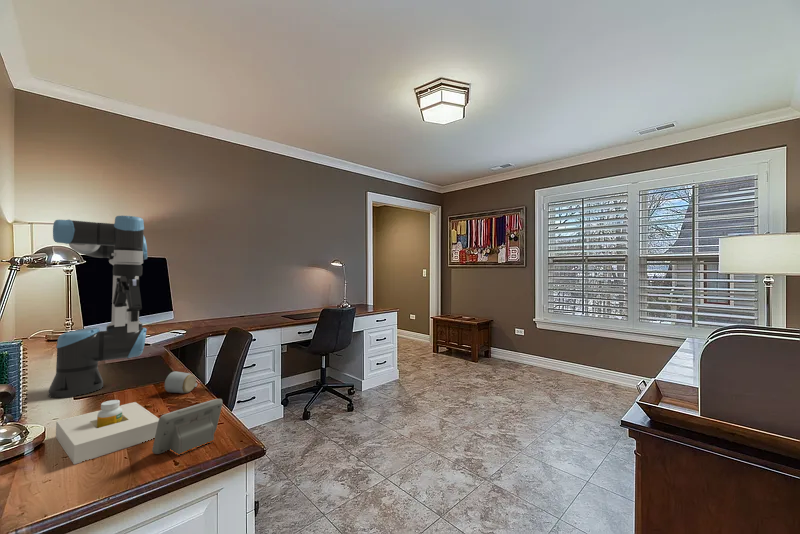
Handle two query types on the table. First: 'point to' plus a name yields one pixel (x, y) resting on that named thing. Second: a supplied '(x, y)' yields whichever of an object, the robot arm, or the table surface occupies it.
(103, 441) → the holder block
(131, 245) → the robot arm
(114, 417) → the supplement bottle
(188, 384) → the ceramic mug
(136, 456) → the table surface
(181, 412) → the digital clock
